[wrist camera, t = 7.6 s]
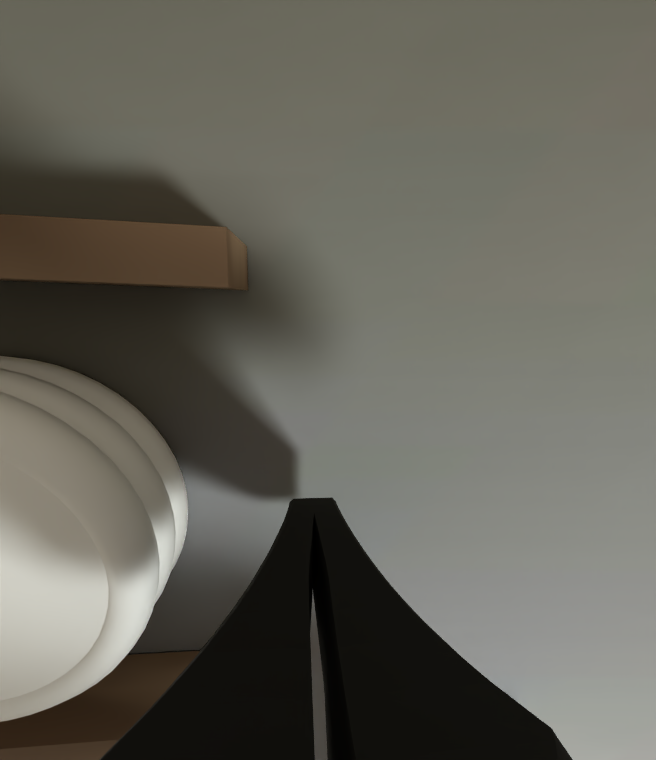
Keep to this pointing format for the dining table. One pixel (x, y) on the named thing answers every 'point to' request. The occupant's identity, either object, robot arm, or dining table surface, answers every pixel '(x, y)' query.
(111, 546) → the white round dish
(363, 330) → the dining table surface
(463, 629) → the dining table surface
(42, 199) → the dining table surface
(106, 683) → the walnut bay
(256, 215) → the dining table surface
